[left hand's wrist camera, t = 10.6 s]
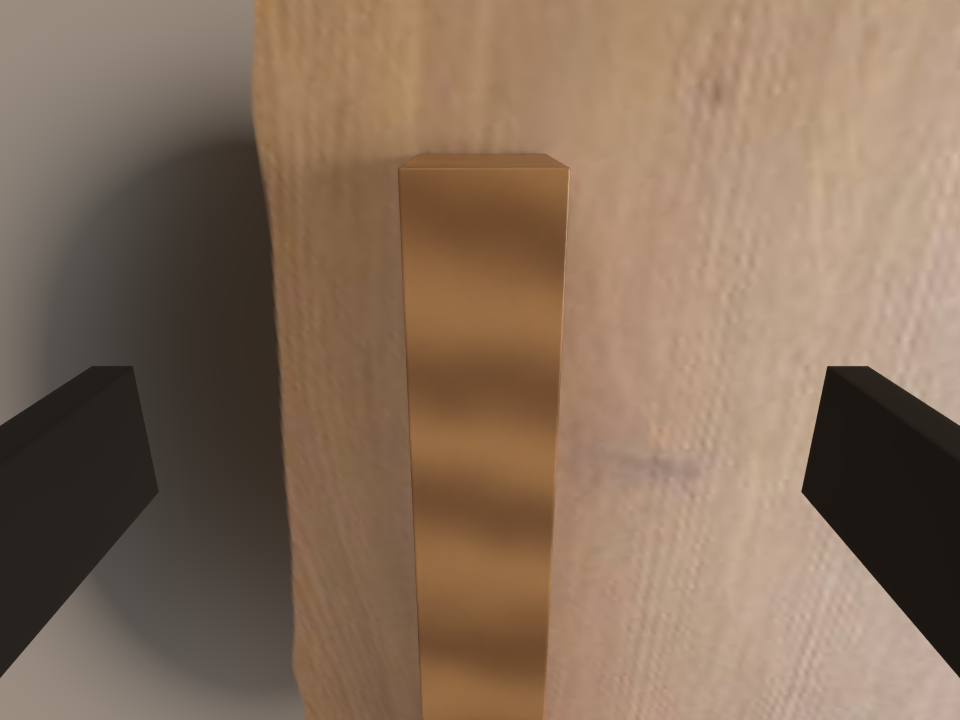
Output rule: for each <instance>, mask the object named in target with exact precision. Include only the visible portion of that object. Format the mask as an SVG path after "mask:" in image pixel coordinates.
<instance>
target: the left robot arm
mask: <svg viewBox="0 0 960 720" xmlns="http://www.w3.org/2000/svg"><path fill="white" fill-rule="evenodd" d="M157 493H158V487H157V482H156V477H155V472H154V467H153V463H152V458H151V453H150V448H149V443H148V438H147V434H146V429H145V424H144V419H143V414H142V410H141V405H140V400H139V395H138V390H137V385H136V380H135V376H134V371H133V367H132V366H92V367H90V368H89V369H87V370H86V371H84V372H82V373H81V374H79V375H78V376H76V377H75V378H73V379H72V380H70V381H69V382H67V383H65V384H64V385H62V386H61V387H59V388H58V389H56V390H55V391H53V392H52V393H50V394H49V395H47V396H45V397H44V398H42V399H41V400H39V401H38V402H36V403H35V404H33V405H32V406H30V407H28V408H27V409H25V410H24V411H22V412H21V413H19V414H18V415H16V416H15V417H13V418H12V419H10V420H8V421H7V422H5V423H4V424H2V425H1V426H0V678H1V676H2V675H3V674H4V673H5V672H6V670H7V669H8V668H9V667H10V666H11V665H12V663H13V662H14V661H15V660H16V659H17V658H18V656H19V655H20V654H21V653H22V652H23V651H24V649H25V648H26V647H27V646H28V645H29V644H30V642H31V641H32V640H33V639H34V638H35V636H36V635H37V634H38V633H39V632H40V631H41V629H42V628H43V627H44V626H45V625H46V624H47V622H48V621H49V620H50V619H51V618H52V617H53V615H54V614H55V613H56V612H57V611H58V609H59V608H60V607H61V606H62V605H63V604H64V602H65V601H66V600H67V599H68V598H69V597H70V595H71V594H72V593H73V592H74V591H75V590H76V588H77V587H78V586H79V585H80V584H81V582H82V581H83V580H84V579H85V578H86V577H87V575H88V574H89V573H90V572H91V571H92V570H93V568H94V567H95V566H96V565H97V564H98V562H99V561H100V560H101V559H102V558H103V557H104V555H105V554H106V553H107V552H108V551H109V550H110V548H111V547H112V546H113V545H114V544H115V543H116V541H117V540H118V539H119V538H120V537H121V535H122V534H123V533H124V532H125V531H126V530H127V528H128V527H129V526H130V525H131V524H132V523H133V521H134V520H135V519H136V518H137V517H138V516H139V514H140V513H141V512H142V511H143V510H144V508H145V507H146V506H147V505H148V504H149V503H150V501H151V500H152V499H153V498H154V497H155V496H156V494H157ZM802 493H803V494H804V496H805V497H806V498H807V499H808V500H809V501H810V503H811V504H812V505H813V506H814V507H815V508H816V510H817V511H818V512H819V513H820V514H821V516H822V517H823V518H824V519H825V520H826V521H827V523H828V524H829V525H830V526H831V527H832V528H833V530H834V531H835V532H836V533H837V534H838V535H839V537H840V538H841V539H842V540H843V541H844V543H845V544H846V545H847V546H848V547H849V548H850V550H851V551H852V552H853V553H854V554H855V555H856V557H857V558H858V559H859V560H860V561H861V563H862V564H863V565H864V566H865V567H866V568H867V570H868V571H869V572H870V573H871V574H872V575H873V577H874V578H875V579H876V580H877V581H878V582H879V584H880V585H881V586H882V587H883V588H884V590H885V591H886V592H887V593H888V594H889V595H890V597H891V598H892V599H893V600H894V601H895V602H896V604H897V605H898V606H899V607H900V608H901V609H902V611H903V612H904V613H905V614H906V615H907V617H908V618H909V619H910V620H911V621H912V622H913V624H914V625H915V626H916V627H917V628H918V629H919V631H920V632H921V633H922V634H923V635H924V636H925V638H926V639H927V640H928V641H929V642H930V644H931V645H932V646H933V647H934V648H935V649H936V651H937V652H938V653H939V654H940V655H941V656H942V658H943V659H944V660H945V661H946V662H947V663H948V665H949V666H950V667H951V668H952V669H953V671H954V672H955V673H956V674H957V675H958V676H959V678H960V426H959V425H958V424H956V423H955V422H953V421H952V420H950V419H948V418H947V417H945V416H944V415H942V414H941V413H939V412H938V411H936V410H935V409H933V408H932V407H930V406H928V405H927V404H925V403H924V402H922V401H921V400H919V399H918V398H916V397H915V396H913V395H911V394H910V393H908V392H907V391H905V390H904V389H902V388H901V387H899V386H898V385H896V384H895V383H893V382H891V381H890V380H888V379H887V378H885V377H884V376H882V375H881V374H879V373H878V372H876V371H874V370H873V369H871V368H870V367H868V366H827V371H826V376H825V380H824V385H823V390H822V395H821V400H820V405H819V409H818V414H817V419H816V424H815V429H814V434H813V438H812V443H811V448H810V453H809V458H808V463H807V467H806V472H805V477H804V482H803V487H802Z"/></svg>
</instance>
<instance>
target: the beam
mask: <svg viewBox="0 0 960 720" xmlns="http://www.w3.org/2000/svg"><path fill="white" fill-rule="evenodd" d="M570 171H571V170H570V168H569V167H568V166H566V165H564V164H562V163H561V162H559V161H557V160H556V159H554V158H552V157H550V156H549V155H547V154H419V155H418V156H416V157H414V158H413V159H411V160H410V161H408V162H407V163H405V164H404V165H402V166H401V167H399V168H398V184H399V207H400V230H401V253H402V275H403V298H404V321H405V344H406V367H407V390H408V412H409V435H410V458H411V481H412V504H413V527H414V549H415V572H416V595H417V618H418V641H419V664H420V686H421V709H422V720H544V712H545V691H546V671H547V650H548V629H549V608H550V587H551V567H552V546H553V525H554V504H555V483H556V463H557V442H558V421H559V400H560V379H561V359H562V338H563V317H564V296H565V275H566V255H567V234H568V213H569V192H570Z"/></svg>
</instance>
